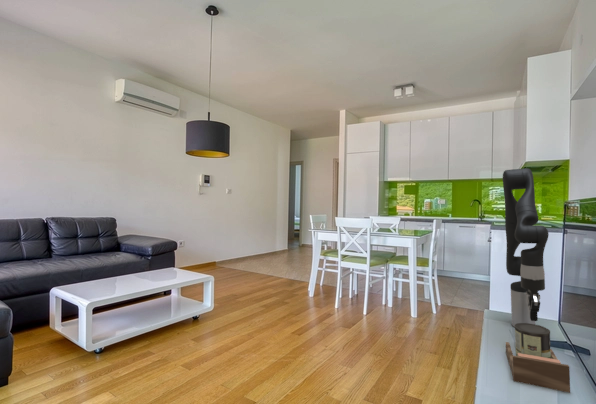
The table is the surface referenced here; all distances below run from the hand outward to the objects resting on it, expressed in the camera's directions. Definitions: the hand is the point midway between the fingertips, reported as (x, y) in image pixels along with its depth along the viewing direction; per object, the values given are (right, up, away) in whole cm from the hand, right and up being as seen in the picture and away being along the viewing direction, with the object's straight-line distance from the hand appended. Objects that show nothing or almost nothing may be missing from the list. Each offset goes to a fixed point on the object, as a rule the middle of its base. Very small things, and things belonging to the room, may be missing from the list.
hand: (533, 320), depth 121 cm
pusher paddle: (-13, -13, -20) cm, 27 cm away
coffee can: (-8, -13, -11) cm, 19 cm away
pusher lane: (-9, -13, -12) cm, 20 cm away
